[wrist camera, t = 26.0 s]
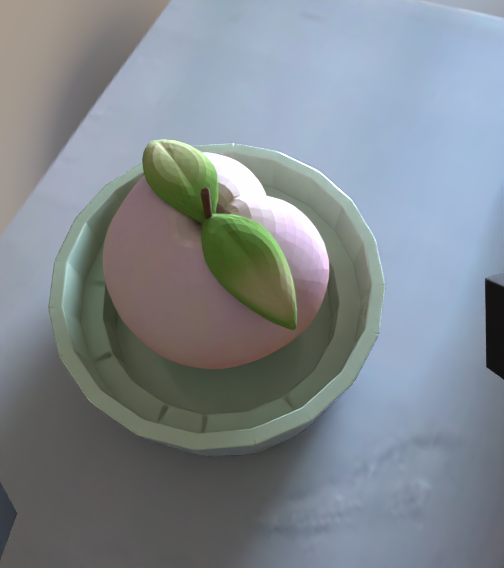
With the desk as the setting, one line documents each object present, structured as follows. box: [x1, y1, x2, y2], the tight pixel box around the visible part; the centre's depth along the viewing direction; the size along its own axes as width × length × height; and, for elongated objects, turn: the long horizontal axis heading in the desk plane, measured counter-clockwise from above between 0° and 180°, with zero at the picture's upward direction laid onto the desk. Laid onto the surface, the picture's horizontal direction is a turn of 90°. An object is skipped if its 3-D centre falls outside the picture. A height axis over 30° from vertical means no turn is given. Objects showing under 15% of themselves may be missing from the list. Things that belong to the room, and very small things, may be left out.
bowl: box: [49, 144, 385, 457], centre depth 21 cm, size 14×14×5 cm
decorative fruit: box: [103, 140, 329, 369], centre depth 18 cm, size 9×8×10 cm
